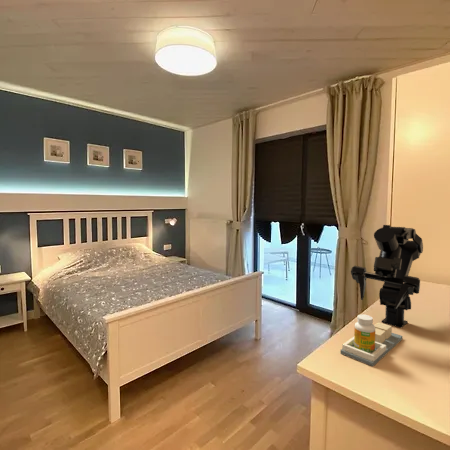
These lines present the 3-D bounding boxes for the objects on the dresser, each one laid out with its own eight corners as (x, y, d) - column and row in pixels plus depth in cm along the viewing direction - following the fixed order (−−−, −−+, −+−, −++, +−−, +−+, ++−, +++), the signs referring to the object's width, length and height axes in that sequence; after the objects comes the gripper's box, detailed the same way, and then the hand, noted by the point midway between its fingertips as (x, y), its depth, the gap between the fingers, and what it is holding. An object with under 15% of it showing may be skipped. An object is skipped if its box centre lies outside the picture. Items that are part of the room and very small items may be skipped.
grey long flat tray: (372, 329, 97) (372, 318, 97) (402, 338, 90) (402, 326, 90) (340, 353, 83) (340, 340, 82) (372, 366, 76) (373, 352, 76)
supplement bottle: (359, 355, 80) (360, 321, 79) (350, 345, 85) (351, 313, 84) (378, 354, 80) (379, 320, 79) (368, 344, 85) (369, 313, 84)
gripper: (354, 241, 93) (341, 284, 87) (423, 251, 81) (414, 301, 75) (359, 259, 101) (347, 299, 94) (423, 270, 89) (414, 317, 83)
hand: (378, 303), depth 86 cm, fingers open, 9 cm apart
